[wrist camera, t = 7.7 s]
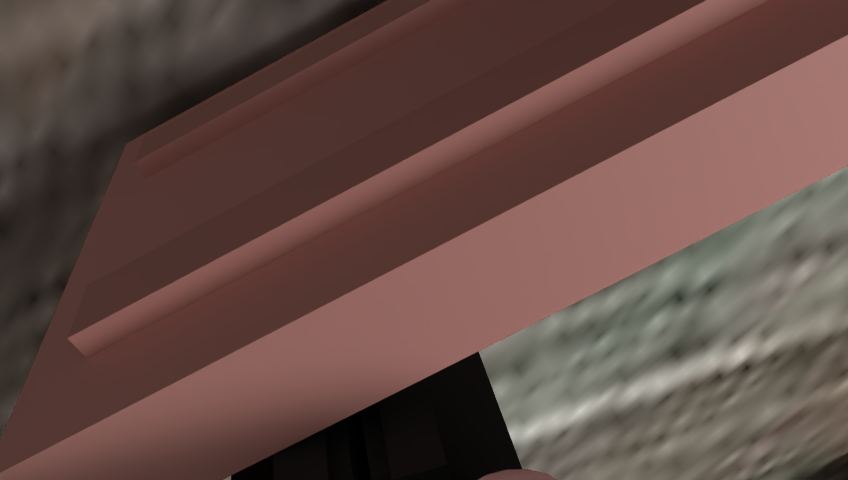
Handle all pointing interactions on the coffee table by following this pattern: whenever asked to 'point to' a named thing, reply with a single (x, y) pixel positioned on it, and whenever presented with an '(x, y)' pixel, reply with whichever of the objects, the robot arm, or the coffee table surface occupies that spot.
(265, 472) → the robot arm
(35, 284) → the coffee table surface
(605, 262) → the gate
